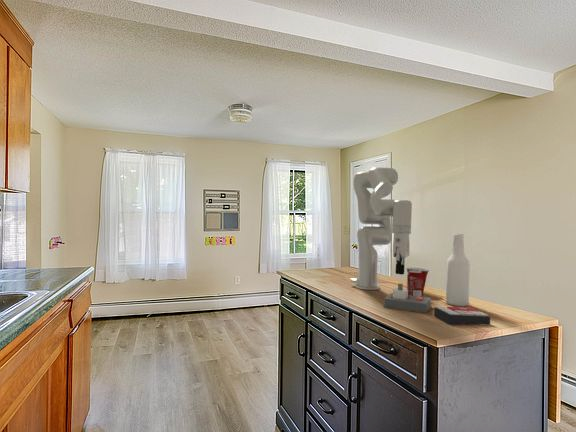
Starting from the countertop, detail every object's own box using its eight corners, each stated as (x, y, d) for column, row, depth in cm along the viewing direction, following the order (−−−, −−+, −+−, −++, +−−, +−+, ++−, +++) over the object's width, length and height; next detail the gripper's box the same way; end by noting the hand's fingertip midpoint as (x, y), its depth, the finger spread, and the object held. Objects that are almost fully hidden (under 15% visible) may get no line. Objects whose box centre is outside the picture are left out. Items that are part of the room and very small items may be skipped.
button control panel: (491, 314, 124) (449, 312, 123) (490, 327, 124) (449, 325, 123) (472, 307, 135) (434, 304, 134) (471, 318, 135) (433, 316, 134)
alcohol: (442, 301, 158) (444, 233, 158) (463, 302, 157) (464, 233, 157) (450, 306, 149) (452, 234, 149) (472, 307, 148) (473, 234, 148)
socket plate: (384, 307, 146) (384, 296, 146) (391, 301, 156) (391, 291, 156) (425, 313, 138) (426, 301, 138) (430, 306, 148) (430, 296, 148)
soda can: (423, 299, 161) (424, 272, 161) (407, 298, 162) (408, 272, 162) (421, 296, 167) (421, 270, 167) (406, 295, 169) (406, 269, 169)
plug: (392, 304, 147) (392, 284, 147) (395, 302, 152) (395, 282, 152) (404, 306, 145) (405, 285, 145) (407, 303, 149) (407, 283, 149)
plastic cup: (433, 293, 174) (434, 268, 174) (420, 295, 168) (420, 270, 168) (414, 289, 183) (415, 265, 183) (400, 291, 177) (401, 267, 177)
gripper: (406, 231, 140) (405, 278, 141) (414, 229, 153) (412, 272, 154) (387, 230, 144) (386, 275, 144) (396, 228, 157) (395, 270, 157)
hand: (399, 273), depth 149 cm, fingers closed
